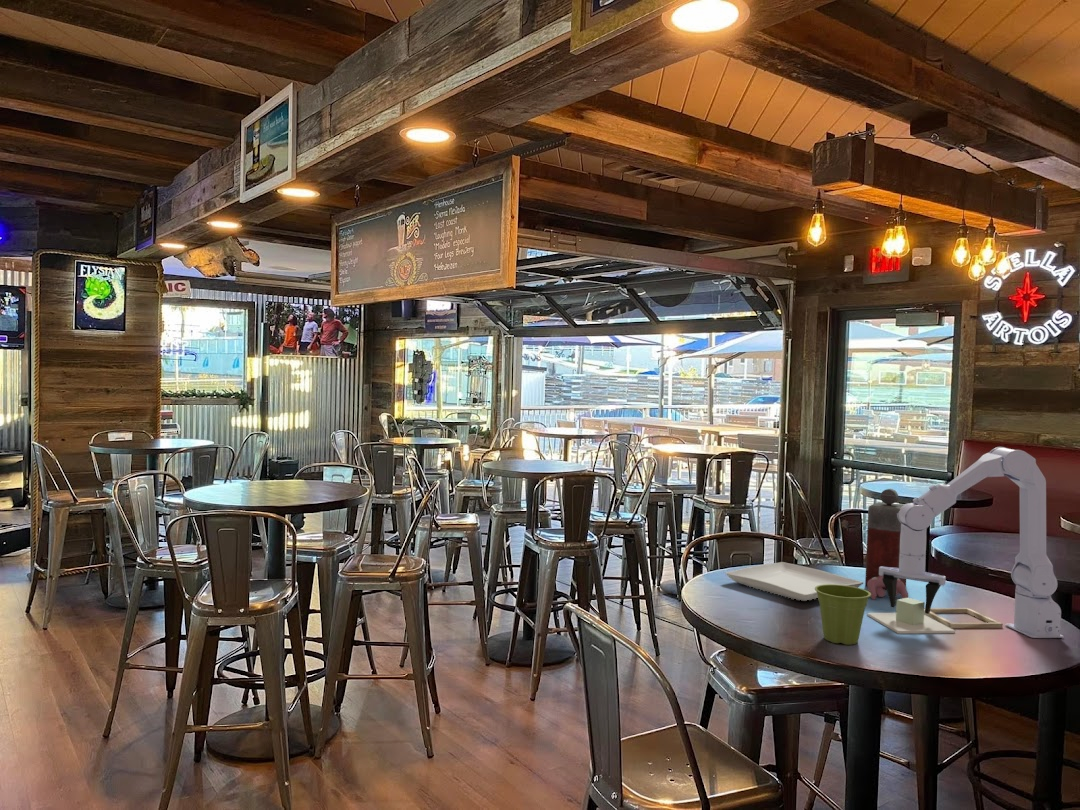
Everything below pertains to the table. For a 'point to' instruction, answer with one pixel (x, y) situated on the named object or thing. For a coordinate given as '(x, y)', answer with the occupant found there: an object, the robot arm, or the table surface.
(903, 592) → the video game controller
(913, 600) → the sage block
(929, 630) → the beige mat
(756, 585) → the square plate
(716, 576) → the table surface
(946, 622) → the maple pocket frame
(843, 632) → the plant pot
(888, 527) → the brown canister
